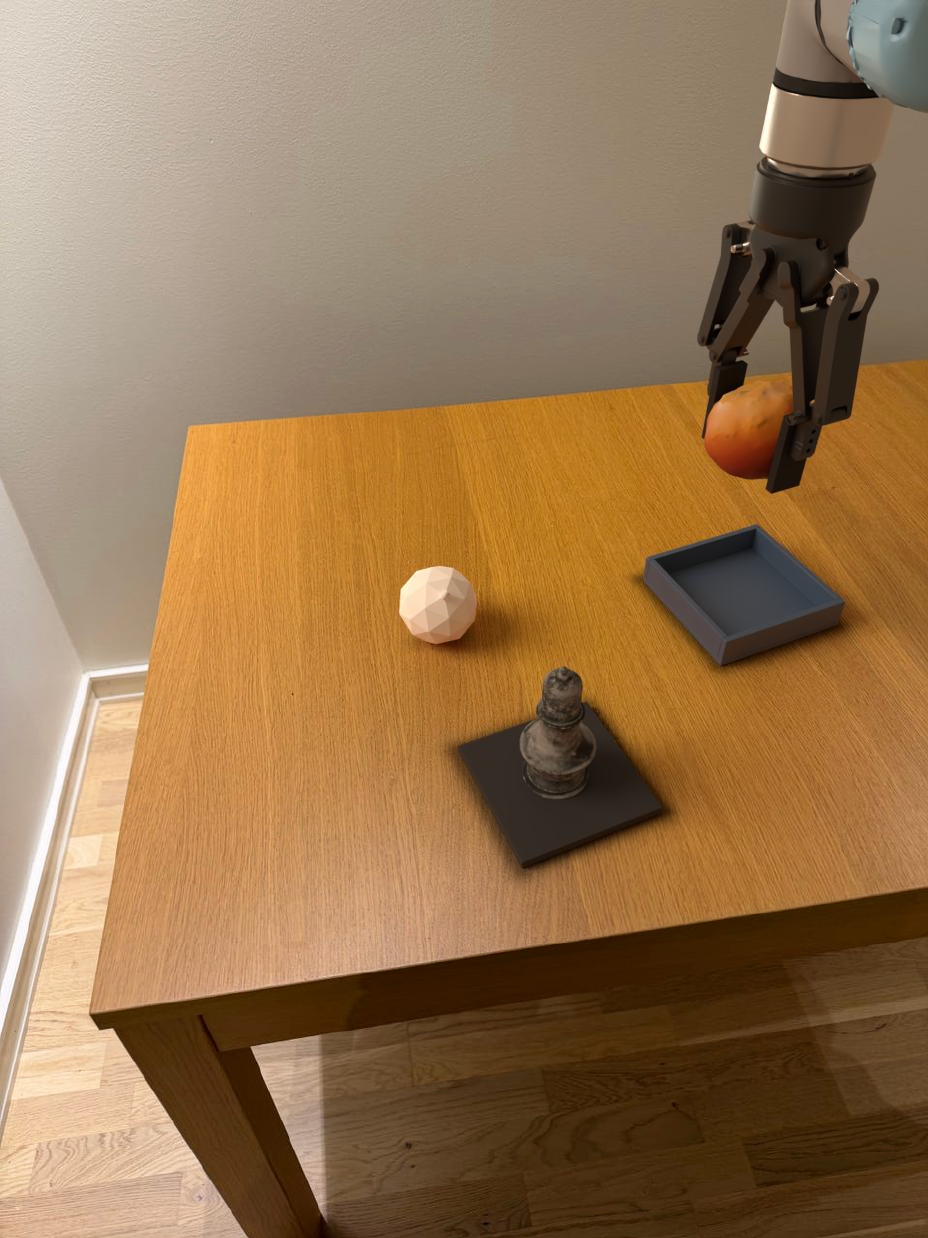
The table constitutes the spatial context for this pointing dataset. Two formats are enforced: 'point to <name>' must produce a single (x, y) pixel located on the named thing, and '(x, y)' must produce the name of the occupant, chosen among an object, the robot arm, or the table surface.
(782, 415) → the fruit
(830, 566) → the table surface
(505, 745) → the mat
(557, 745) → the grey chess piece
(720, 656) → the tray
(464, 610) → the ornament
